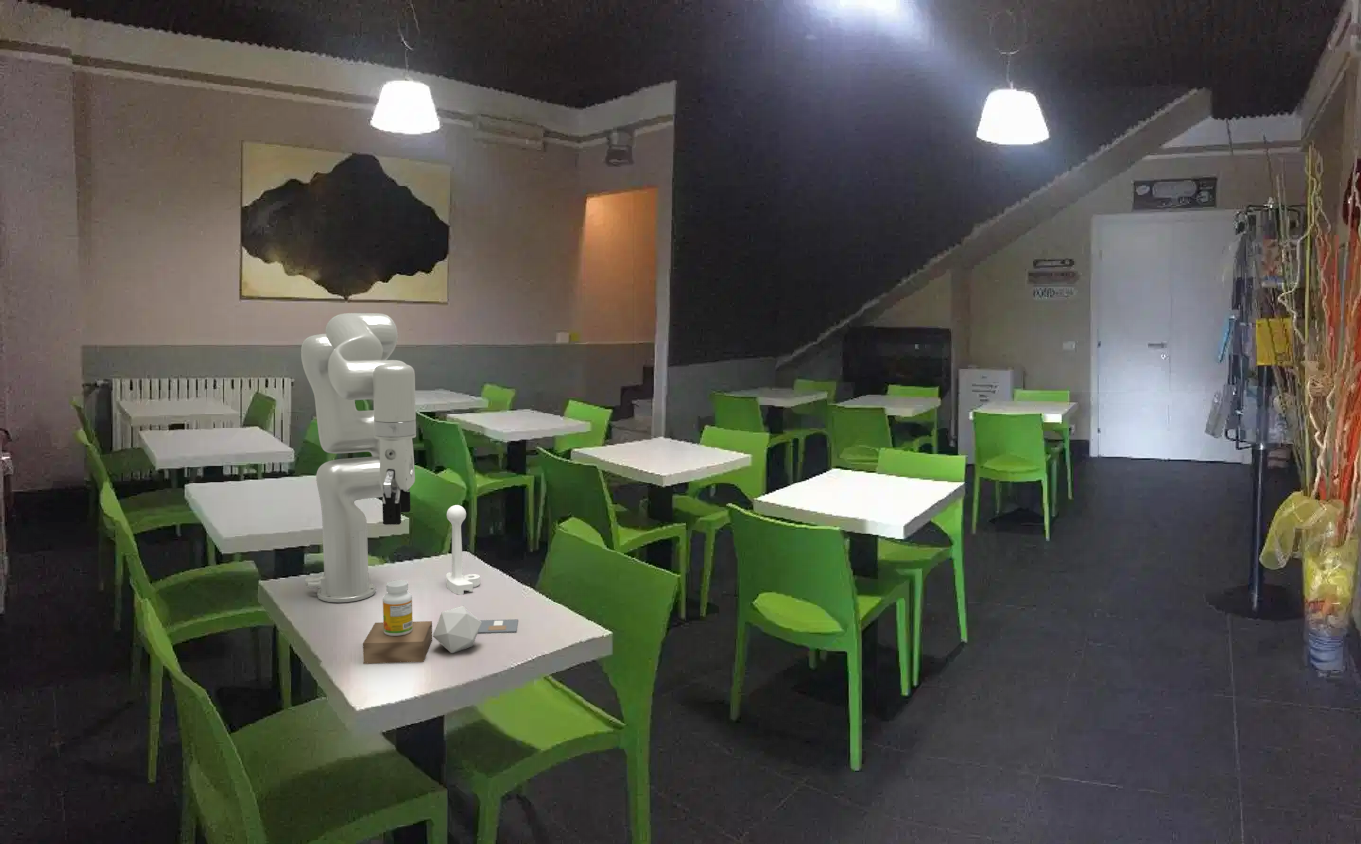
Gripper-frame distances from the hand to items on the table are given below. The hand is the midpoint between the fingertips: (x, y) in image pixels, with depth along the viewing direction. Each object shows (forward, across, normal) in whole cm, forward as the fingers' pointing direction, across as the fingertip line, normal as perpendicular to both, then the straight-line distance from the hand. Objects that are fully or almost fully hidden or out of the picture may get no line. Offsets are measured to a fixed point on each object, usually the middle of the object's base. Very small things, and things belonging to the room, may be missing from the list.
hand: (397, 517), depth 172 cm
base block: (+26, -1, 0) cm, 26 cm away
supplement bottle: (+22, -1, 0) cm, 23 cm away
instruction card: (+26, +11, -18) cm, 34 cm away
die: (+26, 0, -11) cm, 29 cm away
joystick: (+27, +39, -8) cm, 48 cm away
